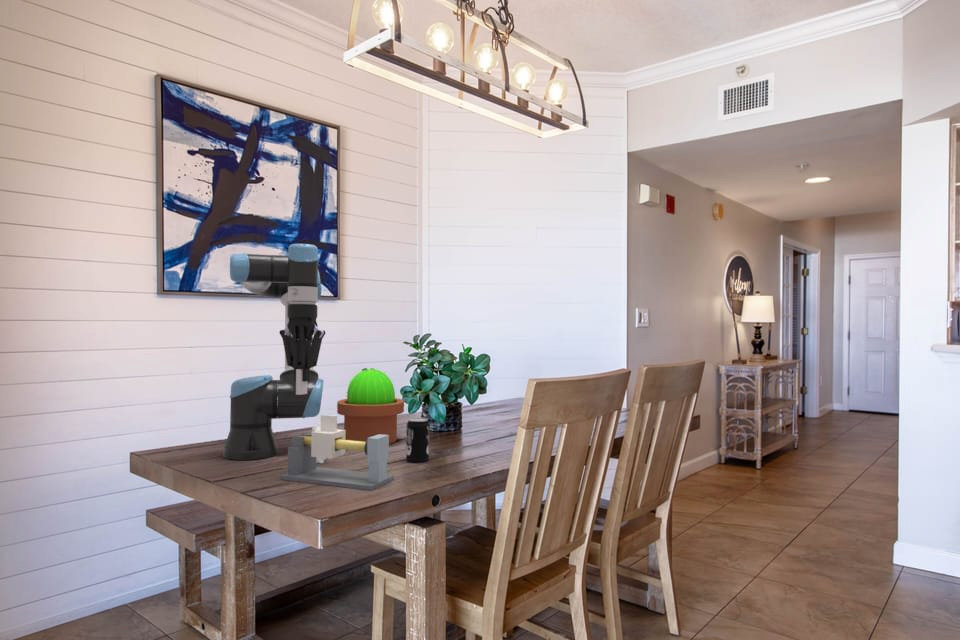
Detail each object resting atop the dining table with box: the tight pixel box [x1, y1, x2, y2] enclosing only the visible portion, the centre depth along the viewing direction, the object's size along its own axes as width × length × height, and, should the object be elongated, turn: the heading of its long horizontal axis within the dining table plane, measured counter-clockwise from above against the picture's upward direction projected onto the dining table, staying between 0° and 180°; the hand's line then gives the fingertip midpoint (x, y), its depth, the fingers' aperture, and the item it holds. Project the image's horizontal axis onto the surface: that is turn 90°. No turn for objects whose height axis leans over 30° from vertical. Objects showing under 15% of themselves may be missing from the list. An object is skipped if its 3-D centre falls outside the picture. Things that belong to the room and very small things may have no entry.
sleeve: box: [311, 414, 346, 460], centre depth 156 cm, size 6×6×10 cm
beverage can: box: [405, 417, 430, 464], centre depth 177 cm, size 7×7×12 cm
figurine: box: [311, 422, 326, 464], centre depth 175 cm, size 10×5×12 cm, turn 52°
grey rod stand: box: [281, 432, 395, 491], centre depth 155 cm, size 26×11×12 cm, turn 69°
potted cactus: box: [336, 367, 405, 445], centre depth 204 cm, size 22×22×25 cm
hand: (301, 393), depth 159 cm, fingers closed
